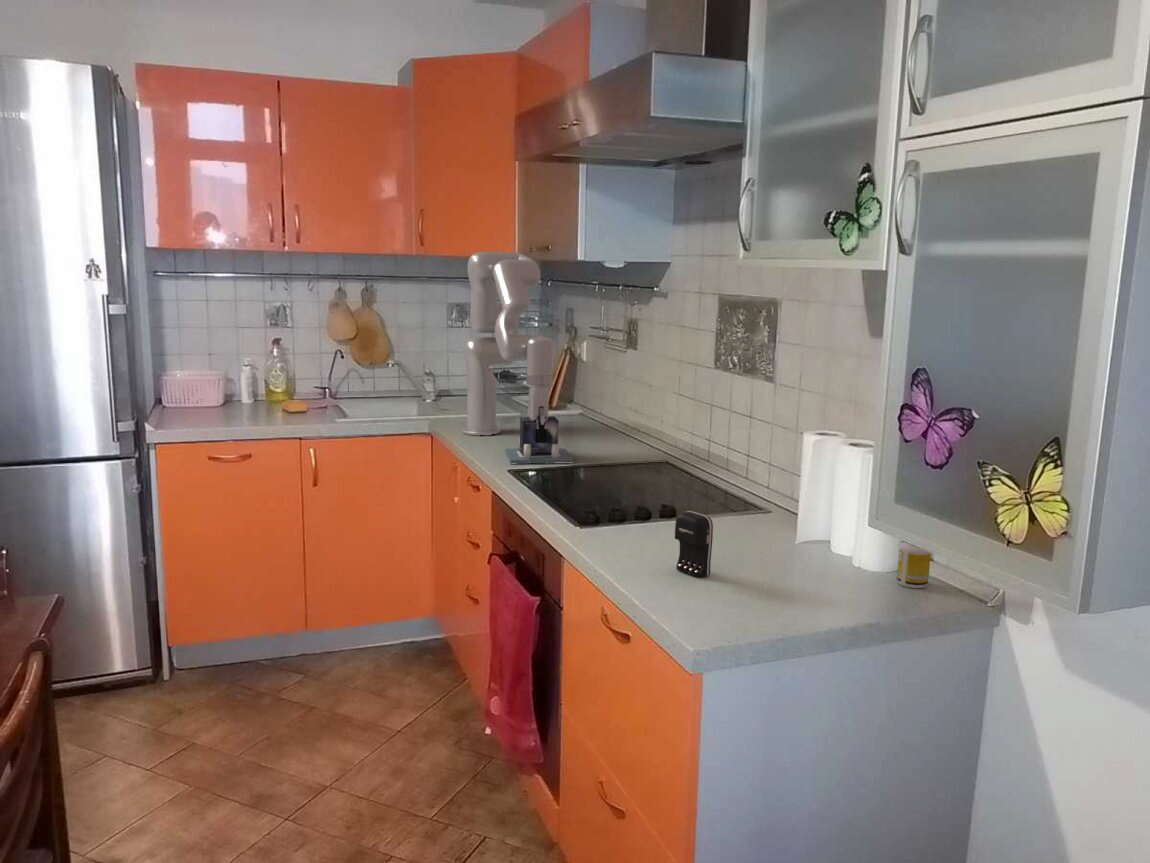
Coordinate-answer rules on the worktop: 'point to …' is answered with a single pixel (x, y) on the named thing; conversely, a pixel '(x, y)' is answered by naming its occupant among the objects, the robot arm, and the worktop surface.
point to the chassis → (556, 456)
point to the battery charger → (694, 543)
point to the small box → (529, 436)
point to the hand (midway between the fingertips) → (538, 439)
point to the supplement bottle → (913, 566)
